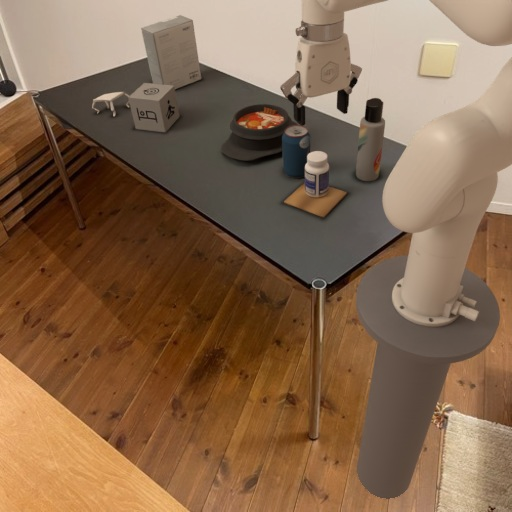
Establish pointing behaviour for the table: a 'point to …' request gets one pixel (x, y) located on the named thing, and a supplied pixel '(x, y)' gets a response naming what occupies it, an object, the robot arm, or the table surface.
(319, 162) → the pill bottle
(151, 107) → the icon cube
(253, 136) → the casserole
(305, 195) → the cork mat
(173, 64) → the hard drive box
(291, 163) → the soda can
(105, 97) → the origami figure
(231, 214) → the table surface
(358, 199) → the table surface
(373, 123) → the lotion bottle
